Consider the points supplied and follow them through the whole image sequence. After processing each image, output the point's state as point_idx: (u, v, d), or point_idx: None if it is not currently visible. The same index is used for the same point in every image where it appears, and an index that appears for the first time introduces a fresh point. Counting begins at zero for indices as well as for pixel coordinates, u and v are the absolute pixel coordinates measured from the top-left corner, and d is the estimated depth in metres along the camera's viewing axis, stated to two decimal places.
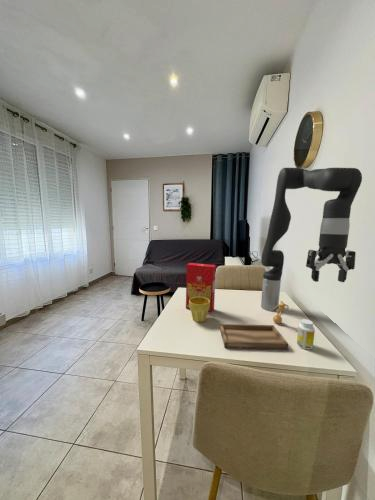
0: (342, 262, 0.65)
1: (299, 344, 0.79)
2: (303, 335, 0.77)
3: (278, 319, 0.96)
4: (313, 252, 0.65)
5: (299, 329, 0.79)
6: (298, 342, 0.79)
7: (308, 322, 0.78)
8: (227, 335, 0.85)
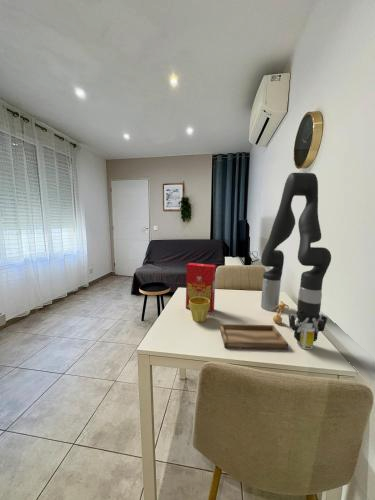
0: (315, 325, 0.77)
1: (299, 344, 0.79)
2: (303, 335, 0.77)
3: (278, 319, 0.96)
4: (292, 317, 0.77)
5: None
6: (298, 342, 0.79)
7: None
8: (227, 335, 0.85)
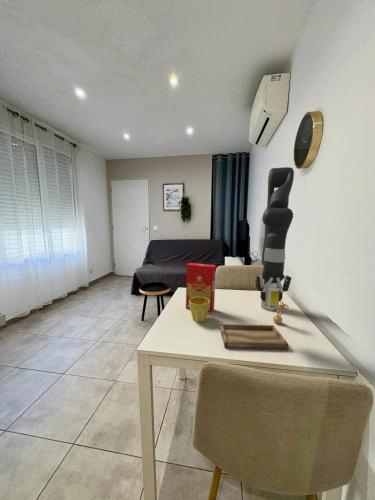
0: (279, 284, 0.79)
1: (265, 304, 0.81)
2: (268, 295, 0.79)
3: (278, 319, 0.96)
4: (257, 278, 0.79)
5: None
6: (264, 303, 0.82)
7: None
8: (227, 335, 0.85)
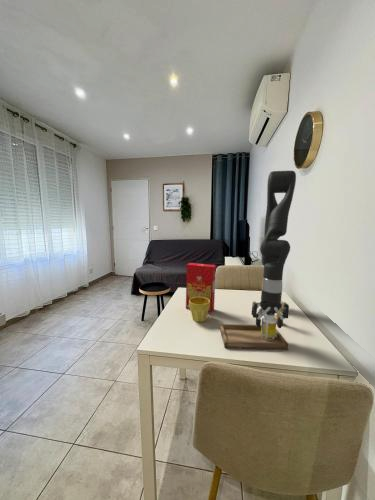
0: (278, 313, 0.81)
1: (262, 335, 0.83)
2: (265, 327, 0.81)
3: None
4: (255, 305, 0.81)
5: (262, 321, 0.83)
6: (261, 333, 0.83)
7: (270, 314, 0.82)
8: (227, 335, 0.85)
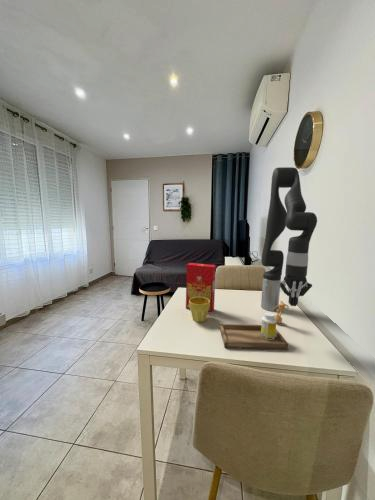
0: (299, 288, 0.79)
1: (262, 335, 0.83)
2: (265, 327, 0.81)
3: (278, 319, 0.96)
4: (281, 285, 0.80)
5: (262, 321, 0.83)
6: (261, 333, 0.83)
7: (270, 314, 0.82)
8: (227, 335, 0.85)
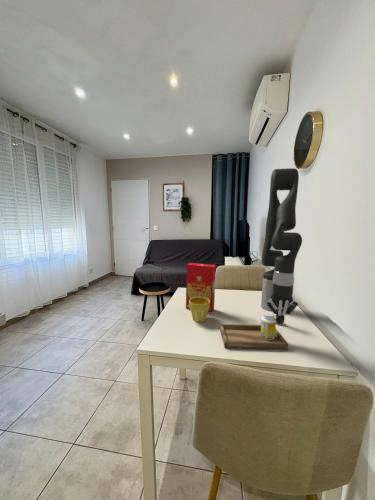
0: (285, 307, 0.80)
1: (262, 335, 0.83)
2: (265, 327, 0.81)
3: None
4: (268, 304, 0.81)
5: (261, 321, 0.83)
6: (261, 333, 0.83)
7: (269, 314, 0.82)
8: (227, 335, 0.85)
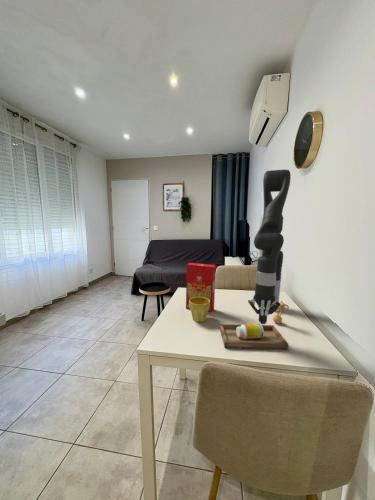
0: (267, 307, 0.80)
1: None
2: (250, 338, 0.81)
3: (278, 319, 0.96)
4: (250, 304, 0.81)
5: None
6: None
7: (238, 332, 0.82)
8: (227, 335, 0.85)
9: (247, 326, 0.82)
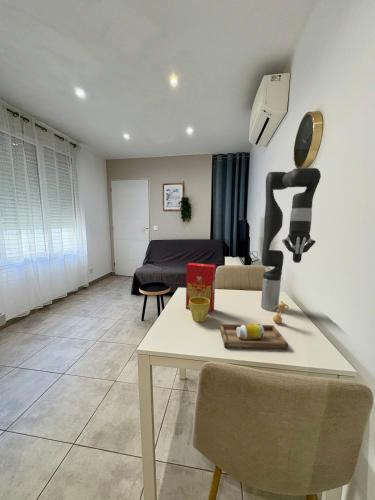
0: (302, 244, 0.81)
1: None
2: (250, 338, 0.81)
3: (278, 319, 0.96)
4: (285, 241, 0.81)
5: None
6: None
7: (238, 332, 0.81)
8: (227, 335, 0.85)
9: (247, 327, 0.81)
